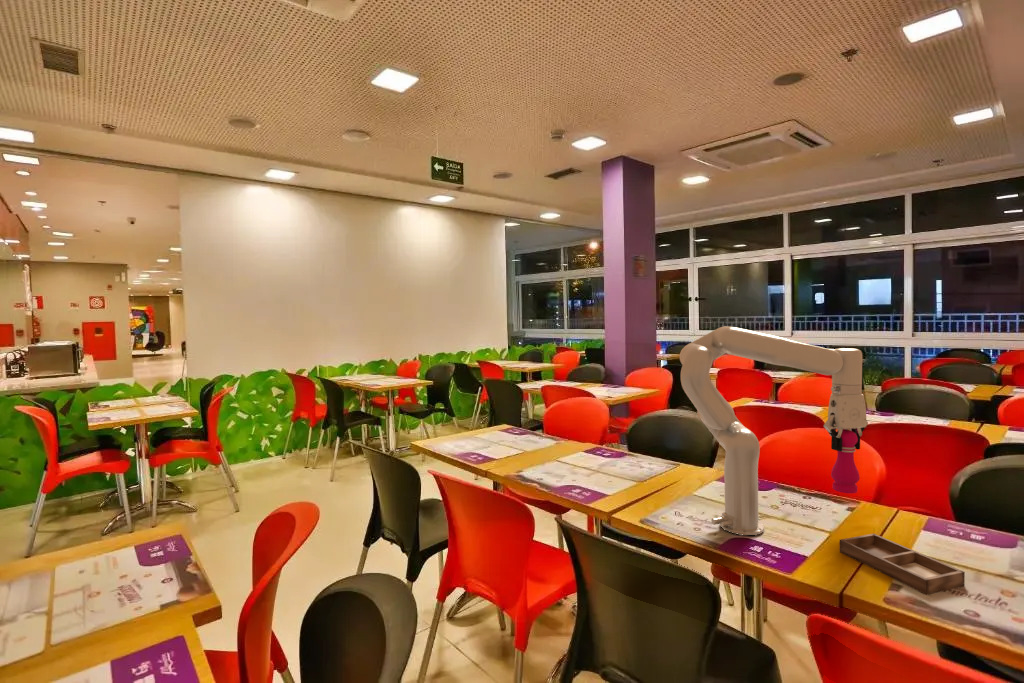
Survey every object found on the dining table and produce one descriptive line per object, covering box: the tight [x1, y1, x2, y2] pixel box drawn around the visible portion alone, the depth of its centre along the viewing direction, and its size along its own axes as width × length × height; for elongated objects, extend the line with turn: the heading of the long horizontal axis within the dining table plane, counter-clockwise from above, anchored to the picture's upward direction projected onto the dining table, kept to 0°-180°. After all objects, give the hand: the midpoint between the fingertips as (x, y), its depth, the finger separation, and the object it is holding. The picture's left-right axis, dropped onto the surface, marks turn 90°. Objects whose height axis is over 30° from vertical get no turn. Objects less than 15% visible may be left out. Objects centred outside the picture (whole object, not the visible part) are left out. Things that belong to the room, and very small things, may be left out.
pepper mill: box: [830, 429, 860, 494], centre depth 157 cm, size 7×7×20 cm
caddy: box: [839, 533, 966, 596], centre depth 135 cm, size 12×23×4 cm, turn 15°
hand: (845, 448), depth 157 cm, fingers closed on pepper mill, 6 cm apart
